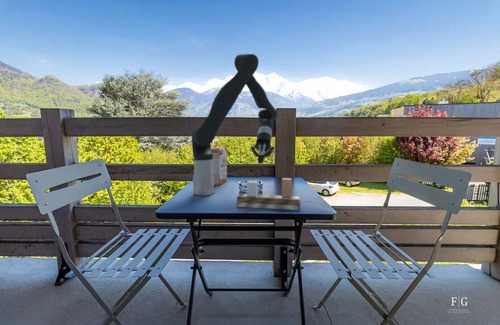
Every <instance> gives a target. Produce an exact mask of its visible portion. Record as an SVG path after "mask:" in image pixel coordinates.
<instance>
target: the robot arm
mask: <svg viewBox="0 0 500 325" xmlns="http://www.w3.org/2000/svg"><path fill="white" fill-rule="evenodd" d="M234 67H235V70H236V71H237V72H236V74H235V75H234V76H232V78H231V79H229V81H227V82H226V83H225V84H224V85H223V86H222V87H221V88H220V89H219V91H218V92H217V94H216V96H214V99H213V101H212V104H211V107H210V110H209V114H208V115H207V117H206V118H205V119H204V122H203V123H202V124H201V125H200V126H197V127H195V128H194V129H193V130H192V132H191V148H192V154H193V165H194V166H193V167H194V171H193V172H194V173H193V175H192V193H193V195H195V196H210V195H213V194H214V193H215V188H214V186H215V185H214V181H213V154H212V151H211V148H212V146H211V144H212V143H213V141H214V140H215V137H216V135H217V133H218V131H219V129H220V127H221V125H222V122H223V121H224V120H225V119H226V118H227V117H228V116H227V115H228V114H229V112H230V111H231V109H232V108H233V106H234V105H235V103H236V101H237V99H238V97H239V96H240V95H241V93H242V91H243V90H244V87H245V86H247V89H248V90H249V92H250V94H251V96H252V99H253V100H254V102H255V104H256V106H257V108H258V109H260V110H259V111H258V113H257V115H258V116H257V117H258V120H259V121H258V122H259V127H258V130H257V136H256V141H255V144H254V145H253V146H250V150H251V152H252V154H253V155H254V156H255V158H257V163H258V164H263V163H264V162H265V161H264V160H265V158H269V156H270V155H272V154H273V153H274V152H275V146H272V144H271V142H272V137H273V135H272V133H273V132H272V131H273V122H272V121H274V120H276V119H277V117H278V112H277V109H276V108H275V107H274V105H273V104H272V103H271V101H270V100H269V98H268V96H267V93H266V91H265V89H264V88H263V86H262V85H261V84H260V83H259V82H258V79H256V78H255V76H254V74H255V73H256V71H257V69H258V67H259V58H258V56H257V55H256V54H254V53H249V52H248V53H239V54H237V55H236V56H235V58H234Z"/></svg>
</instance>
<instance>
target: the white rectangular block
mask: <svg viewBox="0 0 500 325" xmlns="http://www.w3.org/2000/svg"><path fill="white" fill-rule="evenodd" d="M246 194H247V196H250V197H258V195H259V180H250V179H249V180H247V182H246Z"/></svg>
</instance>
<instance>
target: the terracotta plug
mask: <svg viewBox="0 0 500 325" xmlns="http://www.w3.org/2000/svg"><path fill="white" fill-rule="evenodd" d="M292 180H293V179H292V178H291V177H282V178H281V196H282V197H286V198H291V196H292Z"/></svg>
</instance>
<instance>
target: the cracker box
mask: <svg viewBox="0 0 500 325" xmlns="http://www.w3.org/2000/svg"><path fill="white" fill-rule="evenodd" d="M211 151H212V154H213V181H214V186H221V185H222V184H224V183H225V182H227V181H228V178H227V176H228V175H227V174H228V169H227V168H228V167H227V165H228V164H227V162H228V161H227V160H228V159H227V156H228V155H227V154H228V153H227V151H228V148H227V146H214V147H211Z"/></svg>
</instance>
